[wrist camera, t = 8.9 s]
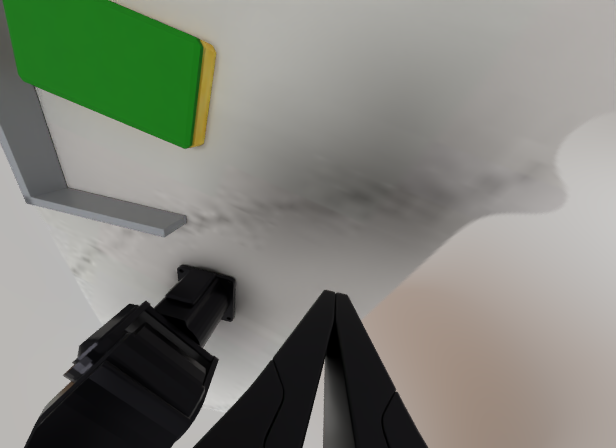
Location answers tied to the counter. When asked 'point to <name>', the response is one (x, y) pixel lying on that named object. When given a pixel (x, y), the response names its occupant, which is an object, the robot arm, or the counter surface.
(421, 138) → the counter surface
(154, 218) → the frame
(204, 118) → the dish sponge
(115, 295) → the counter surface
